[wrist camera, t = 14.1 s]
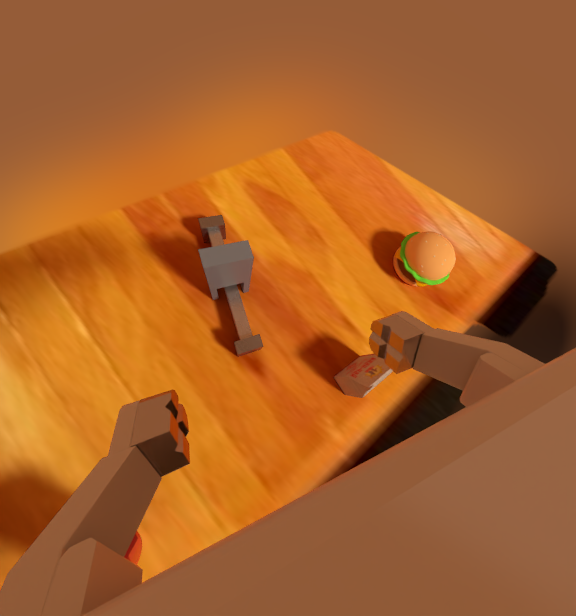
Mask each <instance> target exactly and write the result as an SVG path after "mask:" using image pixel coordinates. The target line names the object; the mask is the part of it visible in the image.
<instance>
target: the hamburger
mask: <svg viewBox="0 0 576 616" xmlns="http://www.w3.org/2000/svg"><path fill="white" fill-rule="evenodd" d="M455 259H456V258H455V252H454V248H453V246H452V244H451V243H450V242H449V241H448V240H447V239H446V238H445V237H443V236H442V235H440V234H437V233H435V232H422V233H420V232H414V233H412V234H409V235H408V236H406V237H405V238H404V240H403V241H402V243H401V247H399V248H398V249H397V251H396V252H395V254H394V258H393V265H394V269H395V271H396V273H397V275H398V276H399V277H400V278H401V279H402V280H403V281H404V282H405V283H407V284H409V285H412V286H418V287H422V286H426V285H436V284H440V283H442V282H444V281H445V280H447V279H448V277H449V274H450V271H451V270H452V268H453V266H454V264H455Z"/></svg>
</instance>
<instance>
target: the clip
mask: <svg viewBox="0 0 576 616" xmlns="http://www.w3.org/2000/svg"><path fill="white" fill-rule="evenodd" d="M198 251H199V254H200V258H201V261H202V265H203V268H204V272H205V275H206V278H207V281H208V285H209V288H210V291H211V295H212V298H213V300H216V299H219V297H218V292H217V289H218V288H223V287H227V286H231V285H235V284H239V283H240V284H241V287H242V290H243V293H244V292H248V291H249V285H250V278H251V272H252V265H253V259H254V257H253V254H252V251H251V248H250V245H249V242H248V240H247V241H241V242H236V243H231V244H225V245H220V246H215V247H209V248H204V249H198Z"/></svg>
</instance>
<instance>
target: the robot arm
mask: <svg viewBox="0 0 576 616" xmlns="http://www.w3.org/2000/svg"><path fill="white" fill-rule="evenodd" d="M371 330H372V331H373V333H372V334H371V336H370V337H369V345H370V348H371V350H372V351H373V353H374V354H375V355H376V356H377V357H380V358H383V359H384V361H385V364H386V365H387V366H388V367H389V368H390V369H391V370H393V371H394V372H395V373H396V374H398V373H400V372H403V371H405V370H408V369H410V368H413V369H415V370H417V371H419V372H422V373H424V374H426V375H429V376H431V377H433V378H435V379H438V380H440V381H442V382H445V383H447V384H449V385H452V386H454V387H456V388H459V389H461V390H463V393H462V395H461V397H460V402H461V403H462V404H463V405H465V406H466V408H464V409H462V410H460V411H459V412H457V413H455V414H453V415H451V416H449V417H447V418H445V419H444V420H442V421H440V422H438V423H436V424H434V425H432V426H431V427H429V428H427V429H425V430H423V431H421V432H420V433H418V434H416V435H414V436H412V437H410V438H408V439H407V440H405V441H403V442H401V443H399V444H397V445H396V446H394V447H392V448H390V449H388V450H386V451H385V452H383V453H381V454H379V455H377V456H375V457H373V458H372V459H370V460H368V461H366V462H364V463H362V464H361V465H359V466H357V467H355V468H353V469H351V470H349V471H348V472H346V473H344V474H342V475H340V476H338V477H337V478H335V479H333V480H331V481H329V482H327V483H325V484H324V485H322V486H320V487H318V488H316V489H314V490H313V491H311V492H309V493H307V494H305V495H303V496H301V497H300V498H298V499H296V500H294V501H292V502H290V503H289V504H287V505H285V506H283V507H281V508H279V509H278V510H276V511H274V512H272V513H270V514H268V515H266V516H265V517H263V518H261V519H259V520H257V521H255V522H254V523H252V524H250V525H248V526H246V527H244V528H242V529H241V530H239V531H237V532H235V533H233V534H231V535H230V536H228V537H226V538H224V539H222V540H220V541H219V542H217V543H215V544H213V545H211V546H209V547H207V548H206V549H204V550H202V551H200V552H198V553H196V554H195V555H193V556H191V557H189V558H187V559H185V560H183V561H182V562H180V563H178V564H176V565H174V566H172V567H171V568H169V569H167V570H165V571H163V572H161V573H160V574H158V575H156V576H154V577H152V578H150V579H148V580H147V581H145V582H143V583H142V571H143V570H142V569H141V568H140V567H139V566H138V565H136V564H134V563H133V562H131V561H129V560H128V559H126V558H124V556H125V554H126V552H127V550H128V548H129V546H130V544H131V542H132V539H133V537H134V535H135V533H136V531H137V529H138V527H139V525H140V523H141V521H142V519H143V516H144V514H145V512H146V510H147V508H148V506H149V504H150V502H151V500H152V498H153V496H154V494H155V491H156V489H157V487H158V485H159V483H160V481H161V479H162V478H161V477H162V476H164V475H166V474H168V473H171V472H173V471H175V470H177V469H179V468H181V467H184V466H186V465H188V464H190V456H189V443H188V441H187V439H186V435H187V434H188V432H189V428H188V420H187V415H186V412H185V409H184V407H183V405H182V404H179V403H178V395H177V393H176V392H175V390H170V391H167V392H164V393H160V394H157V395H154V396H151V397H148V398H145V399H141V400H140V401H136V402H133V403H130V404H127V405H124V406H122V408H121V409H120V411H119V415H118V419H117V423H116V426H115V430H114V434H113V438H112V442H111V446H110V450H109V454H108V456H107V457H104V458H102V459H101V460H100V461H99V463H98V464H97V465H96V466H95V468H94V469H93V470H92V471H91V472H90V474H89V475H88V476H87V477H86V479H85V480H84V481H83V482H82V483H81V485H80V486H79V487H78V488H77V490H76V491H75V492H74V493H73V495H72V496H71V497H70V498H69V499H68V501H67V502H66V503H65V504H64V506H63V507H62V508H61V509H60V510H59V512H58V513H57V514H56V515H55V517H54V518H53V519H52V520H51V521H50V523H49V524H48V525H47V526H46V528H45V529H44V530H43V531H42V532H41V534H40V535H39V536H38V537H37V539H36V540H35V541H34V542H33V543H32V545H31V546H30V547H29V548H28V550H27V551H26V552H25V553H24V555H23V556H22V557H21V558H20V559H19V561H18V562H17V563H16V564H15V566H14V567H13V568H12V569H11V570H10V572H9V573H8V575H7V577H6V579H5V581H4V584H3V586H2V588H1V591H0V616H576V348H575V349H573V350H571V351H569V352H568V353H565V354H564V355H562V356H560V357H558V358H556V359H554V360H552V361H551V362H549V363H547V364H544V363H542V362H540V361H538V360H536V359H534V358H532V357H530V356H529V355H527V354H525V353H523V352H521V351H519V350H517V349H515V348H513V347H511V346H509V345H507V344H506V343H501V342H497V341H492V340H487V339H483V338H478V337H474V336H469V335H465V334H460V333H456V332H451V331H447V330H442V329H438V328H437V329H433V328H432V327H430V326H428V325H427V324H425V323H423V322H422V321H420V320H418V319H417V318H415V317H413V316H412V315H410V314H408V313H407V312H404V311H401V312H398V313H395V314H392V315H390V316H387V317H384V318H381V319H378V320H375V321H373V322H372V324H371Z"/></svg>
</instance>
